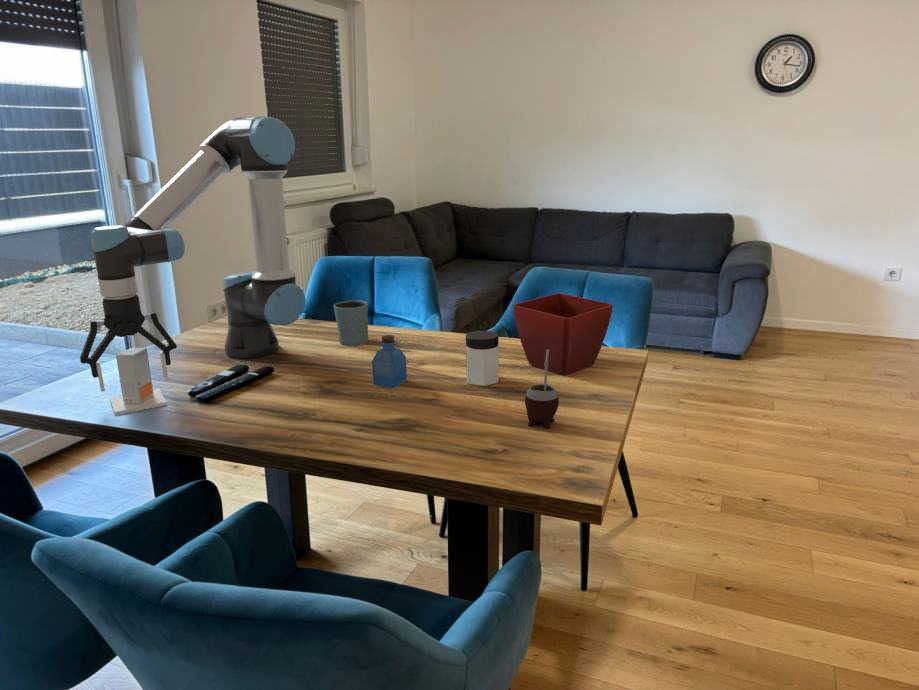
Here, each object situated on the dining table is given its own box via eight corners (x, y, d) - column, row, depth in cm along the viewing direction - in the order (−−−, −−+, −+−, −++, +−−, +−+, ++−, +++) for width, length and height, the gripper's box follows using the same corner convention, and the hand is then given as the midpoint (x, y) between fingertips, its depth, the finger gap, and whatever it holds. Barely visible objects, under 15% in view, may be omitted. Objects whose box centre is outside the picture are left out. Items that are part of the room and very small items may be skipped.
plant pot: (565, 382, 167) (567, 317, 162) (510, 364, 181) (510, 304, 176) (611, 365, 179) (615, 304, 174) (557, 350, 193) (558, 292, 188)
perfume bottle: (406, 379, 171) (404, 334, 167) (394, 387, 166) (392, 341, 162) (386, 376, 173) (383, 332, 170) (373, 384, 168) (370, 338, 165)
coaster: (159, 391, 166) (159, 388, 166) (166, 405, 157) (166, 401, 157) (110, 400, 161) (109, 397, 160) (114, 415, 152) (114, 412, 151)
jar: (500, 386, 165) (500, 339, 162) (467, 387, 165) (466, 340, 162) (497, 374, 174) (497, 329, 170) (465, 374, 174) (465, 330, 170)
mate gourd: (535, 432, 139) (536, 364, 135) (517, 419, 146) (517, 353, 142) (565, 426, 142) (568, 359, 137) (546, 413, 149) (548, 348, 144)
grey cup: (367, 347, 199) (364, 307, 195) (333, 347, 199) (330, 308, 195) (372, 337, 208) (369, 299, 205) (339, 337, 208) (336, 300, 205)
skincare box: (140, 404, 156) (132, 355, 152) (123, 403, 156) (114, 355, 153) (155, 394, 161) (147, 347, 158) (138, 394, 162) (130, 347, 158)
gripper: (175, 285, 160) (187, 369, 167) (55, 300, 148) (73, 389, 154) (181, 291, 154) (193, 378, 161) (57, 306, 142) (75, 399, 148)
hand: (135, 384), depth 157 cm, fingers open, 13 cm apart
